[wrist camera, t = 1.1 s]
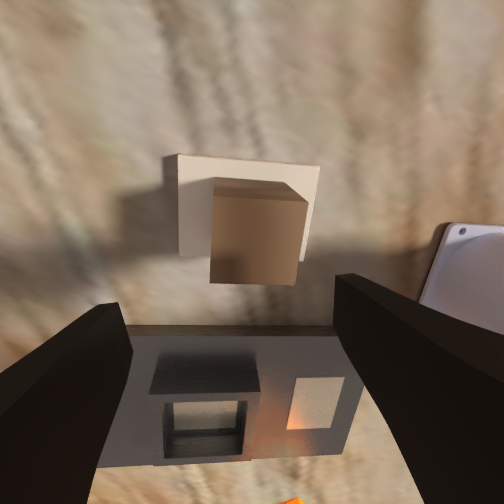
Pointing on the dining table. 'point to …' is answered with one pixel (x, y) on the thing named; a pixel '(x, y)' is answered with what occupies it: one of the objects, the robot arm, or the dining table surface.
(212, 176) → the beige rectangular block
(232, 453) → the gray socket plate
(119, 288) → the dining table surface
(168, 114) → the dining table surface
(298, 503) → the orange juice
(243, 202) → the walnut block
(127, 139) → the dining table surface
